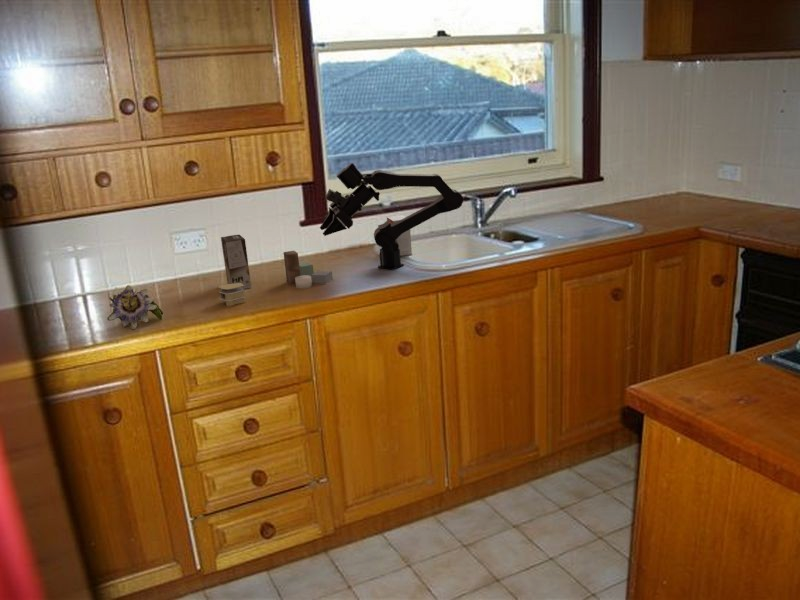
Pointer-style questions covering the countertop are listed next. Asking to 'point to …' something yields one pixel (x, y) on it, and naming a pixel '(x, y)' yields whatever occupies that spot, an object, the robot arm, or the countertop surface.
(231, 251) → the coffee box
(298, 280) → the white tub
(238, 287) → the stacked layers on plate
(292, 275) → the walnut block
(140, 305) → the passion flower
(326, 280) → the grey block
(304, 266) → the green block
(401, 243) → the small box
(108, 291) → the countertop surface
